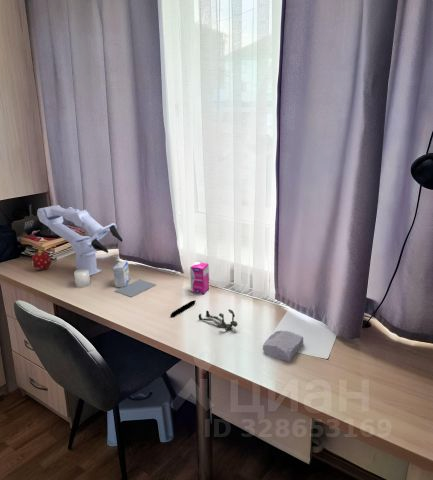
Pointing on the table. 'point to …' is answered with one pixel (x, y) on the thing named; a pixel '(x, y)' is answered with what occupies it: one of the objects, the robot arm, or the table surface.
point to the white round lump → (82, 278)
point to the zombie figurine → (221, 323)
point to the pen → (183, 308)
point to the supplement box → (199, 278)
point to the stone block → (283, 345)
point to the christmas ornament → (41, 260)
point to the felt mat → (135, 288)
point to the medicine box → (121, 274)
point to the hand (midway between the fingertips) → (114, 245)
